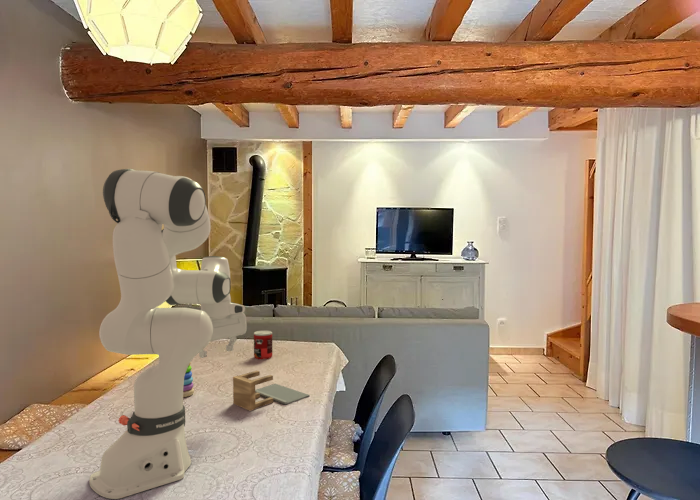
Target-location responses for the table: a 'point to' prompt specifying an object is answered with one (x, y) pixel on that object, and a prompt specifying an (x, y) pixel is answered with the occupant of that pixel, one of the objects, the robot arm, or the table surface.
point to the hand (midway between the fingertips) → (216, 353)
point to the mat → (281, 394)
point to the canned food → (263, 344)
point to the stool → (249, 390)
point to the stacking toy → (188, 383)
